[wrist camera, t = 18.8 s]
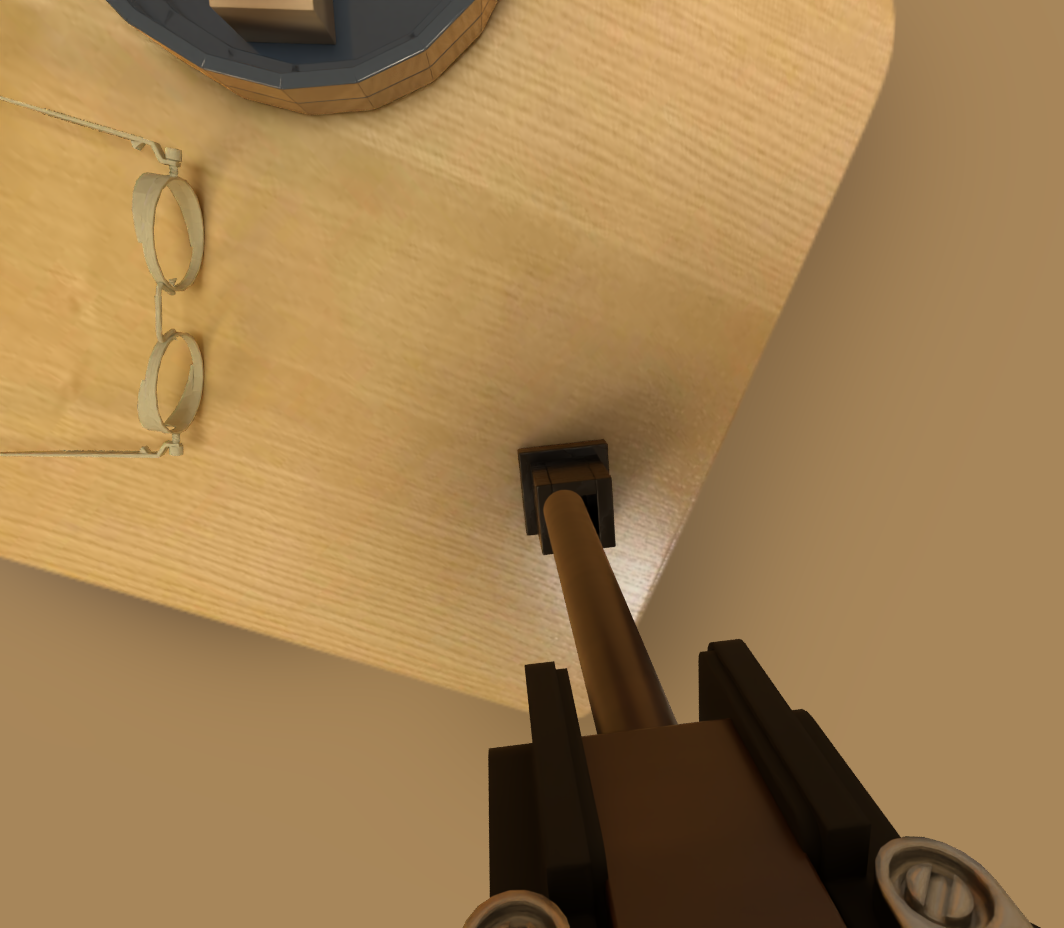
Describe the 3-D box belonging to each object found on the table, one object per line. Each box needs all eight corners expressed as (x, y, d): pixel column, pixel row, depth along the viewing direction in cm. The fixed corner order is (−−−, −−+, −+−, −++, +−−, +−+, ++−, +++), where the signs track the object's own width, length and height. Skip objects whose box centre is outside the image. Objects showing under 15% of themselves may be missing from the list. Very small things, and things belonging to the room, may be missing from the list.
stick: (596, 471, 21) (898, 1015, 6) (600, 536, 22) (877, 1174, 6) (525, 479, 21) (638, 1054, 6) (531, 544, 22) (646, 1211, 6)
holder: (604, 438, 36) (623, 464, 31) (609, 519, 37) (627, 556, 32) (517, 448, 35) (522, 476, 31) (525, 529, 37) (532, 567, 32)
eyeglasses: (204, 467, 34) (160, 499, 30) (-100, 431, 33) (-199, 459, 28) (206, 128, 30) (153, 100, 25) (-150, 65, 28) (-281, 22, 23)
